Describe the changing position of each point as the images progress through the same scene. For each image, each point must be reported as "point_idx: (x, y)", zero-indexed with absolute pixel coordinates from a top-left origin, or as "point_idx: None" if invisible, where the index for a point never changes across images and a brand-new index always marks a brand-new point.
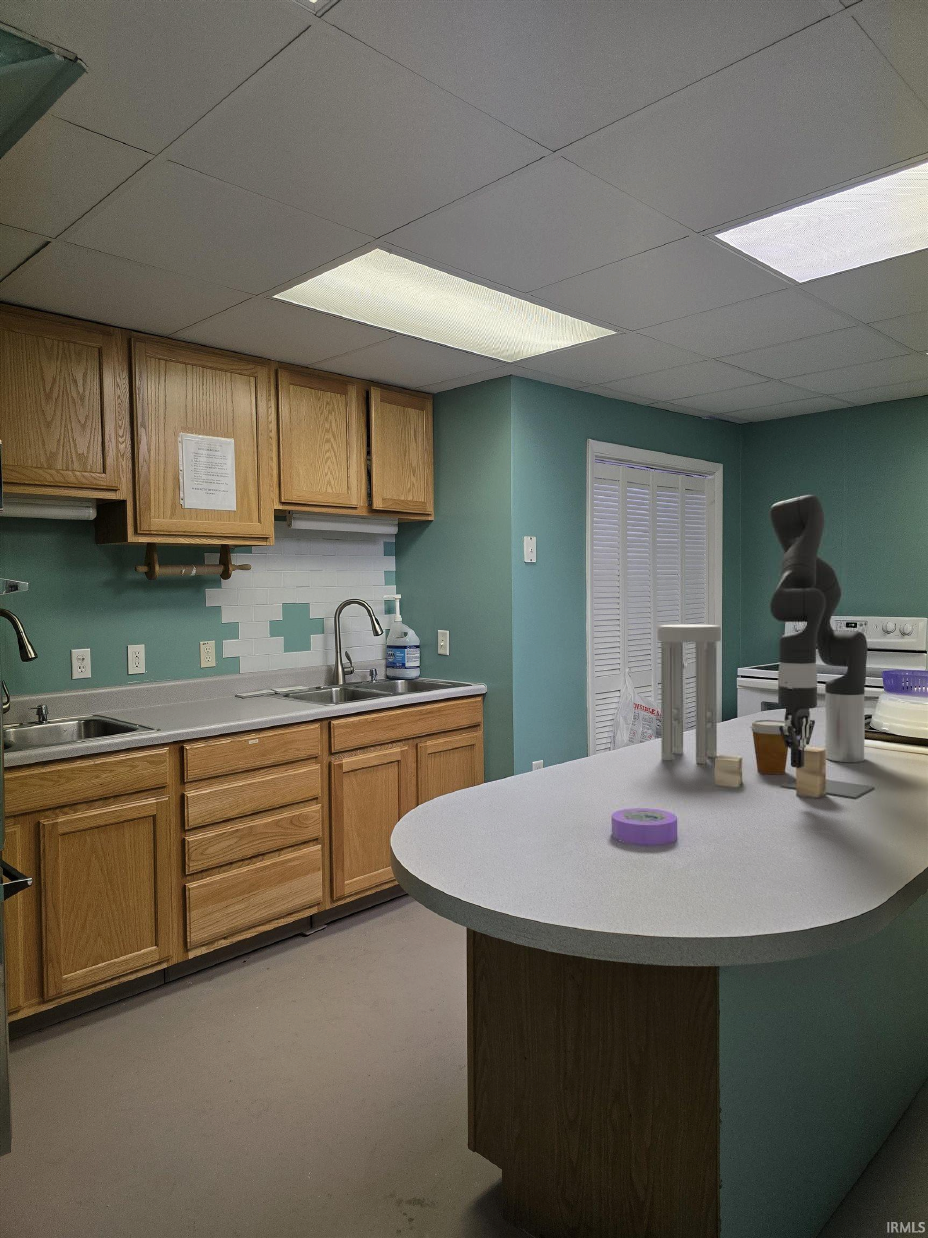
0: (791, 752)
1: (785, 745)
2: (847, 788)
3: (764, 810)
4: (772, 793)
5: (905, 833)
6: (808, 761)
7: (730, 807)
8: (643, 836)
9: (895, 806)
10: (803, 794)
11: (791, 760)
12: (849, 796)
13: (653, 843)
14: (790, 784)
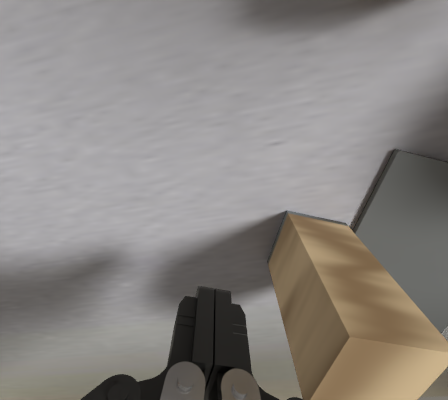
0: (172, 352)
1: (94, 389)
2: None
3: (52, 161)
4: (289, 142)
5: (77, 397)
6: (305, 332)
7: (3, 43)
8: None
9: (268, 378)
10: (280, 232)
11: (177, 313)
12: None
13: None
14: (414, 179)
